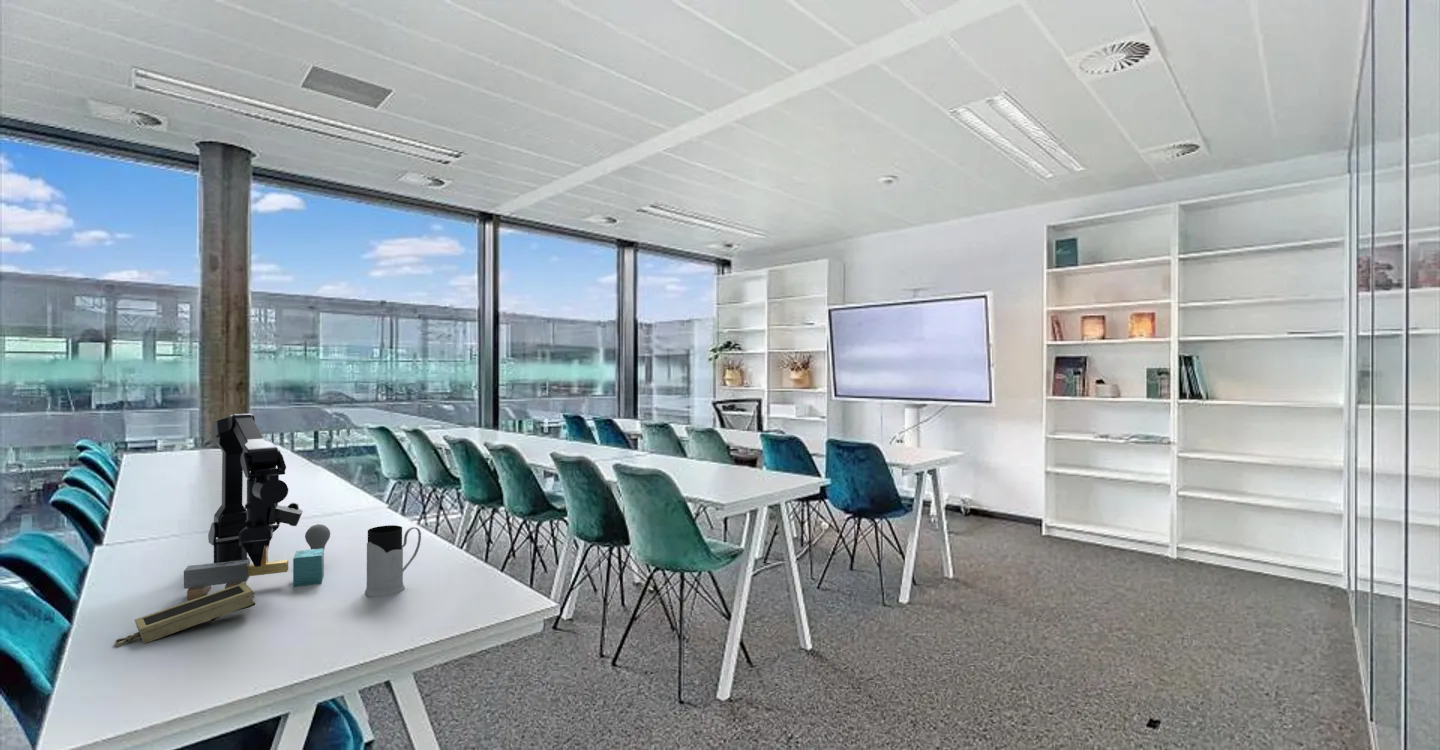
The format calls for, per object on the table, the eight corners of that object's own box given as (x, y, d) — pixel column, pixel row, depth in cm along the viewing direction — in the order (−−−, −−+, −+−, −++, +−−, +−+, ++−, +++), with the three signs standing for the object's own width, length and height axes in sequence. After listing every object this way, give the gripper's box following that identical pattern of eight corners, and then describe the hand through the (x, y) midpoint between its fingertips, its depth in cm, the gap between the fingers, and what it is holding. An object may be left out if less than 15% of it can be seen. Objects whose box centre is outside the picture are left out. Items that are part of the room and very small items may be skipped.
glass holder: (356, 592, 156) (356, 530, 156) (408, 576, 169) (409, 518, 169) (379, 599, 152) (379, 535, 152) (431, 581, 165) (431, 522, 165)
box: (259, 610, 141) (254, 589, 140) (121, 662, 124) (115, 638, 123) (249, 602, 146) (244, 581, 146) (115, 650, 130) (109, 627, 129)
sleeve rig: (181, 601, 149) (181, 571, 149) (190, 590, 156) (190, 561, 156) (321, 584, 162) (321, 555, 162) (323, 574, 169) (323, 547, 169)
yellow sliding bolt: (189, 583, 152) (189, 556, 152) (193, 579, 154) (193, 552, 154) (286, 572, 161) (286, 546, 161) (288, 568, 163) (288, 543, 163)
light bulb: (310, 564, 177) (310, 528, 177) (301, 560, 181) (301, 524, 181) (333, 559, 182) (334, 524, 182) (324, 555, 186) (324, 521, 186)
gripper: (295, 502, 155) (295, 567, 155) (303, 488, 171) (303, 547, 171) (238, 506, 150) (238, 573, 150) (252, 492, 166) (252, 552, 166)
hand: (261, 561), depth 159 cm, fingers open, 9 cm apart
